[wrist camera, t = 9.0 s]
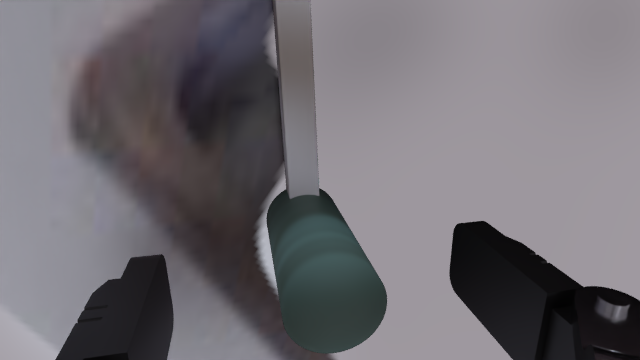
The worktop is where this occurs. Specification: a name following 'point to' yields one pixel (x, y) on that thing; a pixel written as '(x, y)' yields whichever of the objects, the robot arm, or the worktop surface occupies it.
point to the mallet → (314, 215)
